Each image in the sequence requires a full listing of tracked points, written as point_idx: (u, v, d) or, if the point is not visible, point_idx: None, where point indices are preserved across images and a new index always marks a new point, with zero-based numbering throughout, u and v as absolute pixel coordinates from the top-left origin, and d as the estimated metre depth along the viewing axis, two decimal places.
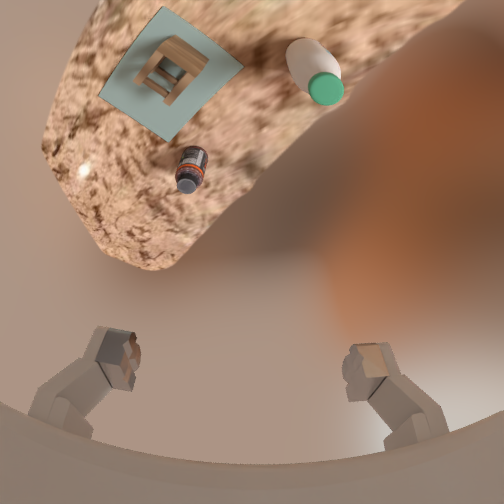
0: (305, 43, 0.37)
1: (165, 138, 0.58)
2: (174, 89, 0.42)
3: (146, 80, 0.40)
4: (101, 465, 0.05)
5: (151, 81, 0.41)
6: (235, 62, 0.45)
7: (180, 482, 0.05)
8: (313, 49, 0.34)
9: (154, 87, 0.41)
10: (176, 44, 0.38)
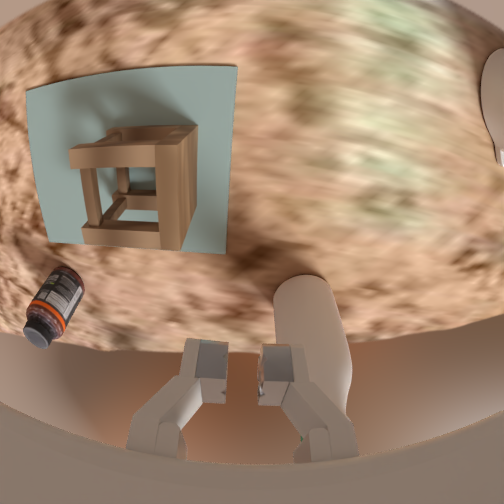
0: (331, 311, 0.30)
1: (49, 234, 0.31)
2: (114, 232, 0.21)
3: (88, 172, 0.19)
4: (101, 465, 0.05)
5: (94, 179, 0.20)
6: (223, 240, 0.32)
7: (180, 482, 0.05)
8: (343, 348, 0.26)
9: (88, 196, 0.20)
10: (187, 156, 0.22)
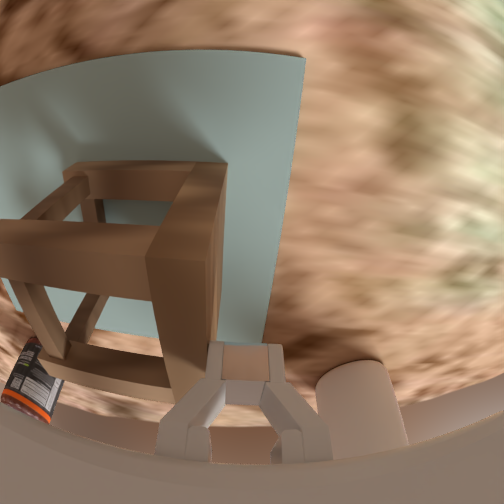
0: (395, 412, 0.20)
1: (14, 302, 0.20)
2: (91, 375, 0.11)
3: (21, 283, 0.08)
4: (101, 465, 0.05)
5: (37, 292, 0.09)
6: (258, 332, 0.21)
7: (180, 482, 0.05)
8: None
9: (33, 319, 0.09)
10: (217, 244, 0.11)
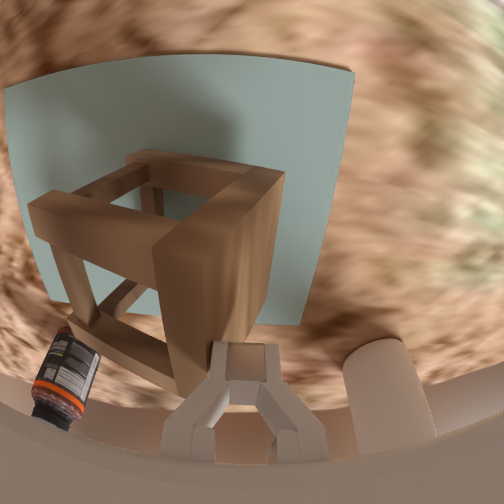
0: (418, 384, 0.22)
1: (50, 291, 0.23)
2: (108, 347, 0.12)
3: (59, 249, 0.10)
4: (101, 465, 0.05)
5: (74, 260, 0.11)
6: (299, 311, 0.23)
7: (180, 482, 0.05)
8: (433, 427, 0.18)
9: (66, 283, 0.11)
10: (248, 251, 0.11)
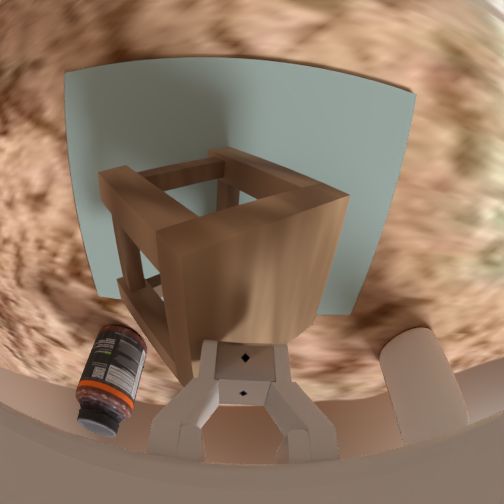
0: (449, 367, 0.23)
1: (99, 287, 0.24)
2: (138, 314, 0.15)
3: None
4: (101, 465, 0.05)
5: None
6: (352, 301, 0.25)
7: (180, 482, 0.05)
8: (465, 405, 0.19)
9: (119, 248, 0.14)
10: (271, 265, 0.11)
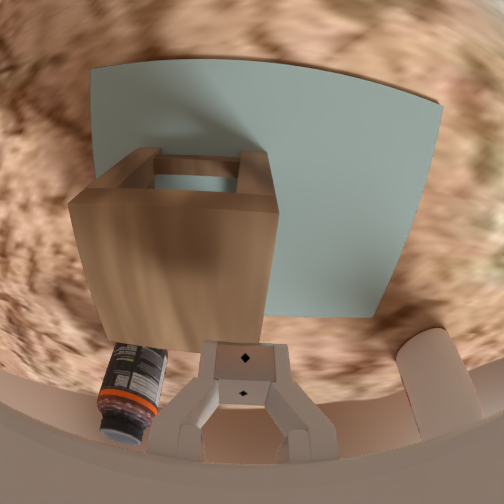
0: (464, 366, 0.23)
1: None
2: None
3: None
4: (101, 465, 0.05)
5: None
6: (375, 304, 0.25)
7: (180, 482, 0.05)
8: (479, 401, 0.20)
9: None
10: (151, 247, 0.11)
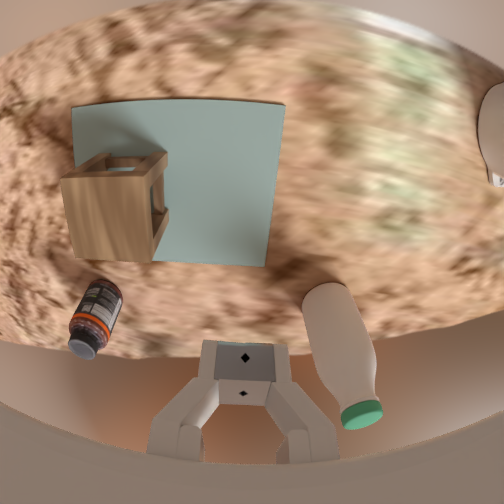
0: (356, 312, 0.35)
1: None
2: None
3: None
4: (101, 465, 0.05)
5: None
6: (263, 254, 0.37)
7: (180, 482, 0.05)
8: (369, 342, 0.31)
9: None
10: (94, 197, 0.22)
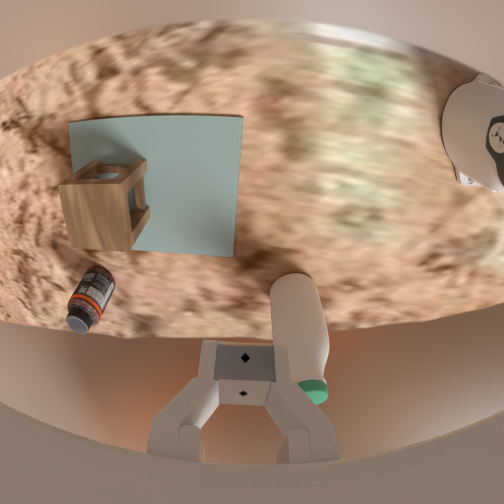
0: (314, 300, 0.40)
1: None
2: None
3: None
4: (101, 465, 0.05)
5: None
6: (231, 246, 0.42)
7: (180, 482, 0.05)
8: (322, 328, 0.36)
9: None
10: (85, 199, 0.28)
